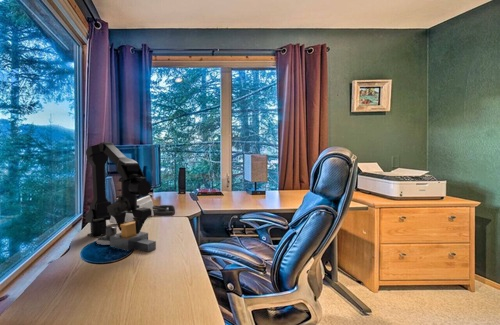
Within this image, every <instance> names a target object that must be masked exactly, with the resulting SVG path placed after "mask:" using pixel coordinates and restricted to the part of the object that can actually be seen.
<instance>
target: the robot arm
mask: <svg viewBox="0 0 500 325" xmlns="http://www.w3.org/2000/svg"><path fill="white" fill-rule="evenodd" d="M85 154H86V159H87V162H88V163H89V165H90V166H91V171H92V172H91V174H92V189H93V190H92V192H93V194H92V195H93V199H92V201H91V203H90V204H89V210H88V212H87V214H86V215H85V222H86V223H88V224H90V233H87V236H90V237H94V238H100V237H103V236H106V227H108V226H107V221H109V220H110V218H111V216H113V217H114V218H115V220H116V222H117V223H116V225H117V228H118V229H119V231H120V232H121V227H120V225H121V224H125V223H126V222H125V216H126V213H132V214H133V216H134V218H133V219H134V220H133V221H134V222H135V225H136V234H139V232H141V230H142V228H143V227H144V225H145V222H146V220H148V218H149V217H150V216H151V215H152V210H151V209H150V208H144V207H143V208H139V205H137V200H138V199H140V196H143V197H146V196H148V195H149V194H150V192H151V190H152V186H151V183H150V182H149V181H147V177H145V174H144V172H143V170H142V169H141V166H140V164H139V162H137V161H136V160H135V159H132V158H128V157H127V156H126V155H124V153H123V152H121V151H120V149H118V148H117V146H115V144H114V142H108V141H107V142H106V141H105V142H103V141H102V142H100V143H98V144H94V145H89V146H88V148H86V150H85ZM109 159H110V160H111V162H113V163H114V165H115V166H116V169H115V170H116V172H117V173H118V175H119V176H120V177H119V179H118V182H120V188H121V190H120V191H121V192H120V195H118V197H117V200H116V201H114V202H111V201H109V200H108V199H107V193H106V173H105V172H106V169H105V166H106V164H107V162H108V160H109ZM137 208H139V209H137Z"/></svg>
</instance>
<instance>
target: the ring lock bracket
mask: <svg viewBox="0 0 500 325" xmlns="http://www.w3.org/2000/svg"><path fill="white" fill-rule="evenodd" d="M117 228H118V226H117V225H116V226H115V225H111V226H107V227H106V235H103V236H100V237H97V239H96V240H95V241H96V243H97V244H101V245H110V246H111V247H116V248H120V249H125V250H131V249H134V250H136V251H140V252H144V253H149V252H152V251H154V250H156V249H157V248H156V247H157V241H156V240H150V239H149V232H146V231H145V232H144V231H140V232H139V234H136V235H133V236H130V237H122V236H121V232H118V233H117V231H118V230H117ZM97 244H96V245H97ZM110 246H109V247H110ZM131 251H132V250H131Z"/></svg>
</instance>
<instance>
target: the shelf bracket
mask: <svg viewBox="0 0 500 325" xmlns="http://www.w3.org/2000/svg"><path fill="white" fill-rule="evenodd" d="M153 201H154V200H153V199H152V198H151V195H146V196H143V197H140V198H137V205H139V208H143V207H144V208H150V209H151V210H152V215H150V216H151V217H155V216H154V213H153V205H154V202H153ZM139 208H137V209H139ZM133 218H134V216H133V214H132V213H126V216H125V222H124V223H128V222H132V221H135V220H134V219H133ZM108 221H109V222H108V223H110V224H114V225H115V224H117V222H116V220H115V218H114V217H113V216H111V218H110V220H108Z"/></svg>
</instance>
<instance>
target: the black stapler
mask: <svg viewBox="0 0 500 325" xmlns="http://www.w3.org/2000/svg"><path fill="white" fill-rule="evenodd" d="M153 213H154V216H153V217H155V216H158V217H159V216H160V217H161V216H163V217H167V216H169V217H170V216H174V215H175V214H176V209H175V206H174V205H173V204H160V205H155V204H153Z"/></svg>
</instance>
